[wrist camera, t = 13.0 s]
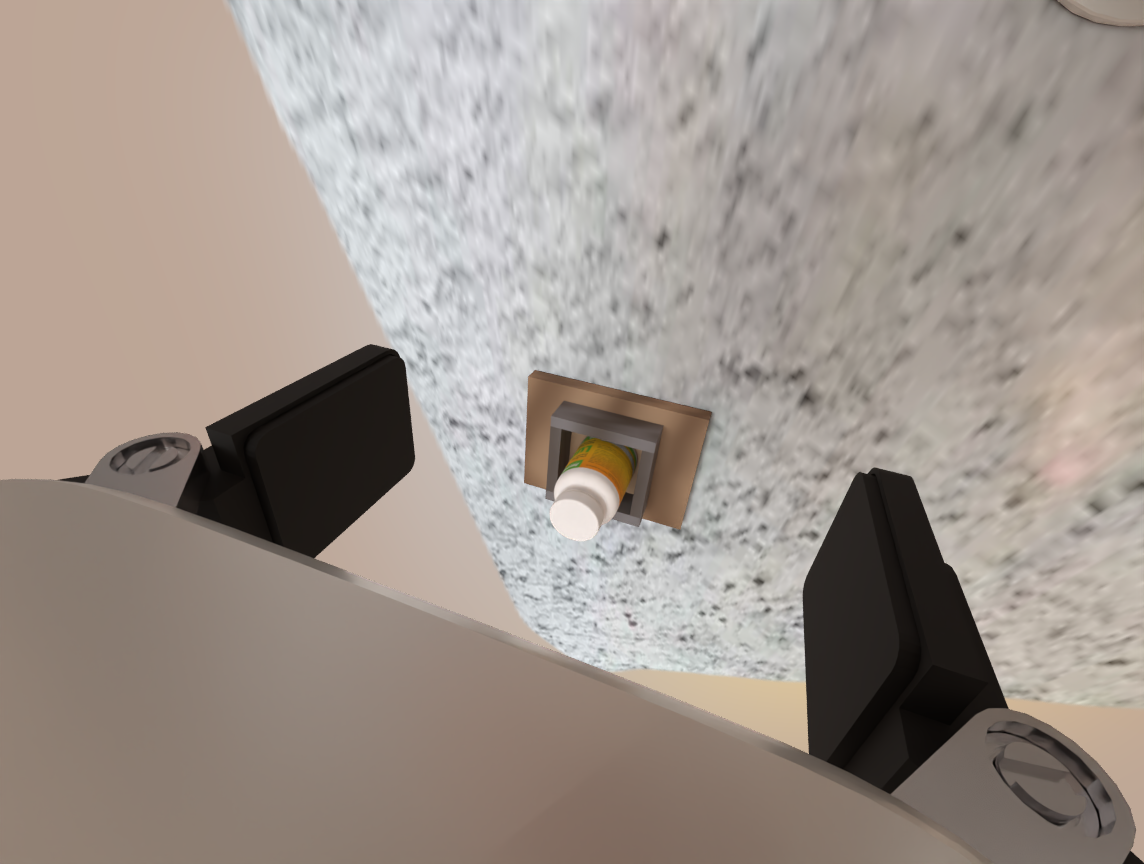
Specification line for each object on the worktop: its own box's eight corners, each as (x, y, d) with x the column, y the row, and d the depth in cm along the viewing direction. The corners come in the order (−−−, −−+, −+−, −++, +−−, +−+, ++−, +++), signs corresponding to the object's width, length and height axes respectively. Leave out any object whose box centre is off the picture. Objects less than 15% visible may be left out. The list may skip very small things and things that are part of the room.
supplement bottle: (597, 417, 44) (558, 478, 36) (649, 450, 44) (620, 519, 36) (571, 457, 47) (529, 522, 39) (619, 489, 47) (587, 560, 39)
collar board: (711, 411, 42) (704, 438, 38) (682, 519, 48) (674, 551, 45) (535, 370, 46) (513, 390, 42) (530, 474, 52) (511, 500, 49)
